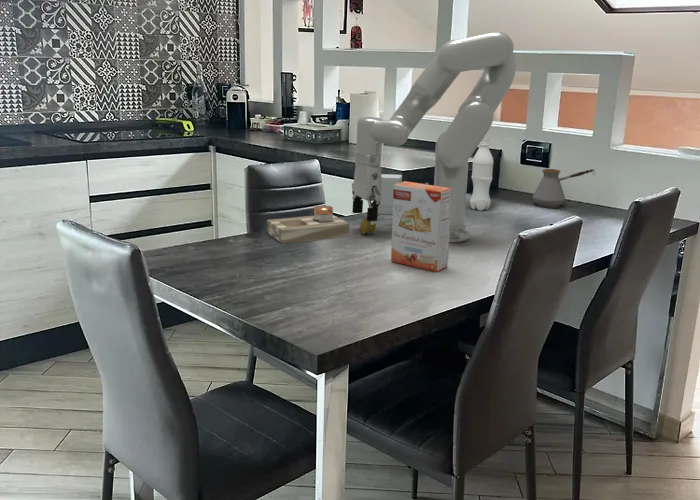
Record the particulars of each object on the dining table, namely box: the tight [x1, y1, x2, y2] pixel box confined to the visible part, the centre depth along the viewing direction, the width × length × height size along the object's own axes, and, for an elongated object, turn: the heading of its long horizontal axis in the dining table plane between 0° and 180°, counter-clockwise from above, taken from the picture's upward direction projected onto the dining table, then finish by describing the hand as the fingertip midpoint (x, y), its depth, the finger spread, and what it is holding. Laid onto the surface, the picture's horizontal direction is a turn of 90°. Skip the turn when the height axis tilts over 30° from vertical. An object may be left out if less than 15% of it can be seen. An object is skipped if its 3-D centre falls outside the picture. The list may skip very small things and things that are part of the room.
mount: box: [266, 214, 350, 245], centre depth 203 cm, size 13×21×4 cm, turn 116°
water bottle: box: [469, 136, 495, 211], centre depth 237 cm, size 7×7×25 cm
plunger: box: [313, 204, 334, 223], centre depth 204 cm, size 6×6×4 cm
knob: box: [359, 217, 377, 236], centre depth 205 cm, size 5×5×5 cm
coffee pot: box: [532, 168, 596, 209], centre depth 242 cm, size 21×12×15 cm, turn 51°
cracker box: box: [390, 181, 452, 273], centre depth 173 cm, size 14×6×21 cm, turn 53°
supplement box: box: [378, 173, 403, 216], centre depth 232 cm, size 7×7×13 cm
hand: (364, 216), depth 204 cm, fingers open, 9 cm apart
